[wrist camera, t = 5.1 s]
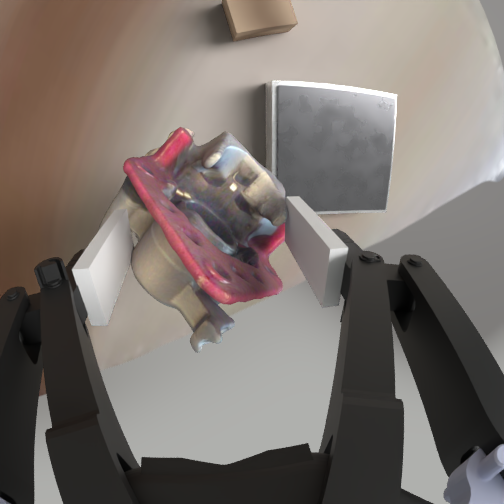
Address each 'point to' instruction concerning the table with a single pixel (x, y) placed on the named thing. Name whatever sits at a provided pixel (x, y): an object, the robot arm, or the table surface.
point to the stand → (331, 144)
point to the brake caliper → (203, 228)
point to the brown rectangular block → (258, 17)
